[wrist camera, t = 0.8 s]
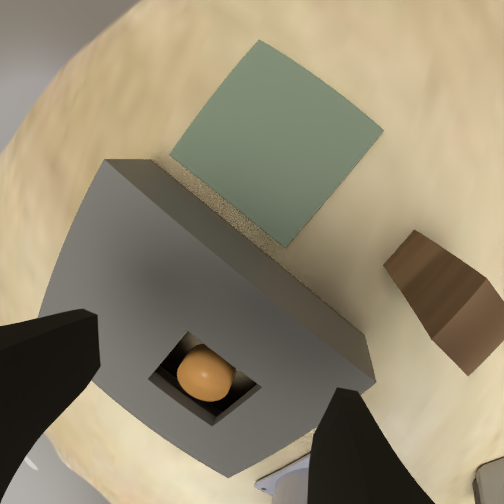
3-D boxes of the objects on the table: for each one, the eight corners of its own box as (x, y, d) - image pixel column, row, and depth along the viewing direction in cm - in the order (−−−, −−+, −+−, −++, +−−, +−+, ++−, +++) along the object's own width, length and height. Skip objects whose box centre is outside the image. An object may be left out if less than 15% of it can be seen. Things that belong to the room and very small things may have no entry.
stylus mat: (382, 131, 14) (384, 130, 14) (285, 246, 17) (284, 248, 16) (260, 42, 14) (259, 39, 14) (172, 155, 17) (169, 154, 16)
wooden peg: (443, 260, 15) (518, 323, 8) (412, 294, 16) (468, 376, 8) (414, 229, 15) (487, 278, 8) (383, 265, 16) (431, 339, 8)
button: (246, 366, 16) (240, 382, 14) (217, 392, 17) (209, 408, 15) (204, 333, 16) (194, 348, 14) (178, 363, 17) (167, 378, 15)
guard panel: (364, 336, 17) (376, 382, 13) (242, 433, 21) (228, 478, 17) (150, 159, 17) (104, 159, 13) (75, 299, 21) (35, 323, 16)
